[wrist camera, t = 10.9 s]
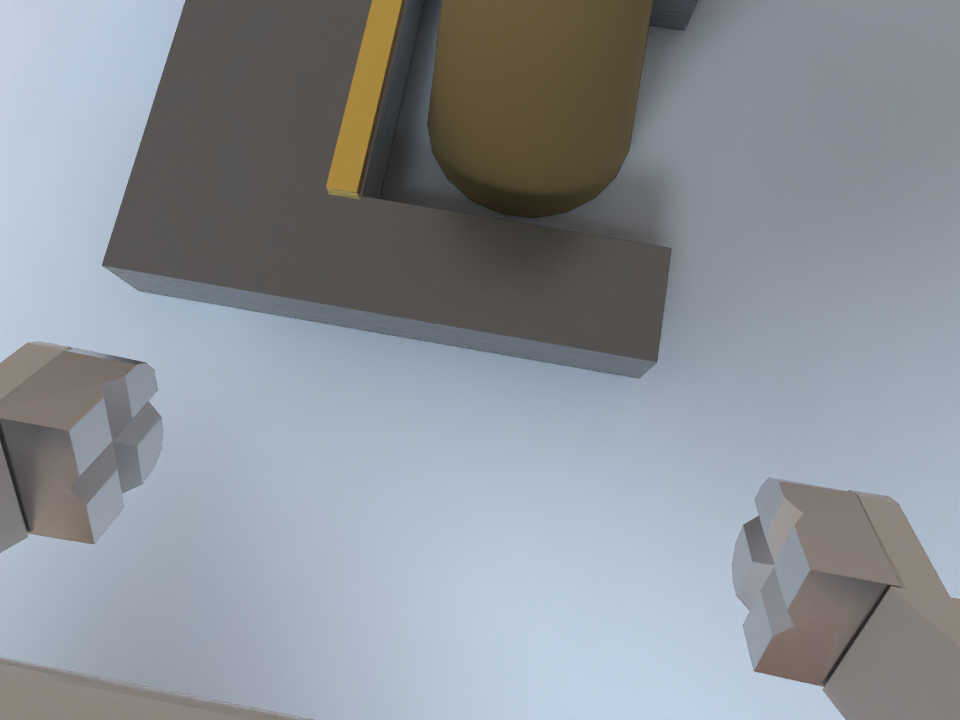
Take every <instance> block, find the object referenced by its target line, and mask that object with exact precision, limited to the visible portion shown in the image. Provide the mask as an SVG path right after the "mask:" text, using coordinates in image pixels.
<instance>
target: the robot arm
mask: <svg viewBox="0 0 960 720" xmlns="http://www.w3.org/2000/svg"><path fill="white" fill-rule="evenodd" d="M157 391H158V387H157V382H156V376H155V370H154V369H153V368H152V367H151V366H150V365H148V364H147V363H146V362H141V361H136V360H131V359H126V358H121V357H116V356H112V355H107V354H102V353H97V352H92V351H87V350H82V349H78V348H75V349H73V348H70V347H66V346H61V345H56V344H51V343H45V342H32V343H27V344H25V345H24V346H23V347H21V348H20V349H19V350H17V351H16V352H14V353H13V354H12V355H10V356H9V357H8V358H6V359H5V360H4V361H2V362H1V363H0V553H1V552H3V551H4V550H6V549H8V548H10V547H11V546H13V545H15V544H17V543H18V542H20V541H22V540H24V539H26V538H27V537H28V534H34V535H40V536H46V537H52V538H59V539H65V540H71V541H77V542H83V543H89V544H95V543H96V542H97V541H98V539H99V538H100V537H101V536H102V534H103V533H104V532H105V531H106V529H107V528H108V527H109V526H110V524H111V523H112V522H113V521H114V519H115V518H116V517H117V516H118V514H119V513H120V512H121V511H122V509H123V508H124V504H123V498H122V493H124V492H126V491H128V490H130V489H132V488H135V487H137V486H139V485H141V484H143V482H144V481H145V480H146V478H147V477H148V476H149V474H150V473H151V472H152V470H153V469H154V467H155V464H156V462H157V459H158V457H159V454H160V451H161V449H162V440H163V425H162V417H161V416H160V415H159V413H158V412H157V411H156V410H155V408H154V407H153V406H152V405H151V404H150V402H149V400H150V399H151V398H152V397H153V396H154V394H155V393H156V392H157ZM755 504H756V507H757V511H758V514H759V516H758V517H756V518H754V519H752V520H751V521H749V522H747V523H746V524H744V525H743V526H742V529H741V531H740V533H739V536H738V538H737V541H736V543H735V548H734V555H733V561H732V575H733V584H734V588H735V593H736V596H737V598H738V599H739V600H740V601H741V602H742V603H743V604H744V605H745V606H746V607H747V608H748V609H749V611H750V612H749V614H748V616H747V618H746V620H745V622H744V624H743V628H744V633H745V637H746V641H747V645H748V649H749V654H750V658H751V662H752V666H753V671H755V672H759V673H764V674H768V675H773V676H777V677H782V678H786V679H791V680H795V681H800V682H805V683H809V684H814V685H818V686H823V687H824V688H823V691H824V692H825V694H826V695H827V696H828V698H829V699H830V700H831V701H832V703H833V704H834V705H835V707H836V708H837V709H838V710H839V712H840V713H841V714H842V716H843V717H844V718H845V719H846V720H960V599H955V598H950V596H949V594H948V593H947V591H946V589H945V587H944V585H943V584H942V582H941V580H940V578H939V576H938V574H937V573H936V571H935V569H934V567H933V565H932V564H931V562H930V560H929V558H928V556H927V555H926V553H925V551H924V549H923V547H922V545H921V544H920V542H919V540H918V538H917V536H916V535H915V533H914V531H913V529H912V527H911V526H910V524H909V522H908V520H907V518H906V517H905V515H904V513H903V511H902V509H901V507H900V506H899V504H898V503H897V502H896V501H894V500H893V499H892V498H891V497H889V496H883V495H876V494H870V493H863V492H857V491H851V490H849V491H843V490H837V489H831V488H826V487H820V486H815V485H809V484H804V483H798V482H792V481H787V480H781V479H776V478H770V477H769V478H768V479H767V480H766V481H765V482H764V483H763V484H762V486H761V488H760V490H759V492H758V494H757V496H756V498H755ZM27 533H28V534H27ZM0 720H312V719H307V718H302V717H297V716H292V715H287V714H282V713H277V712H272V711H267V710H262V709H257V708H252V707H247V706H242V705H237V704H232V703H227V702H222V701H217V700H212V699H207V698H202V697H197V696H192V695H187V694H182V693H177V692H171V691H166V690H161V689H156V688H151V687H146V686H141V685H136V684H131V683H126V682H121V681H116V680H111V679H106V678H101V677H96V676H91V675H86V674H81V673H76V672H71V671H66V670H61V669H56V668H51V667H46V666H41V665H36V664H31V663H26V662H21V661H16V660H11V659H6V658H1V657H0Z"/></svg>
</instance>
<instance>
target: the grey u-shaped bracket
mask: <svg viewBox="0 0 960 720" xmlns="http://www.w3.org/2000/svg"><path fill="white" fill-rule="evenodd" d="M424 2H425V0H186V1H185V4H184V7H183V10H182V13H181V17H180V20H179V23H178V26H177V29H176V32H175V36H174V39H173V42H172V45H171V48H170V51H169V55H168V58H167V61H166V64H165V67H164V70H163V74H162V77H161V80H160V83H159V86H158V89H157V93H156V96H155V99H154V102H153V105H152V108H151V112H150V115H149V118H148V121H147V124H146V127H145V131H144V134H143V137H142V140H141V143H140V146H139V149H138V153H137V156H136V159H135V162H134V165H133V168H132V172H131V175H130V178H129V181H128V184H127V187H126V191H125V194H124V197H123V200H122V203H121V206H120V210H119V213H118V216H117V219H116V222H115V225H114V229H113V232H112V235H111V238H110V241H109V244H108V248H107V251H106V254H105V257H104V260H103V263H102V266H103V267H105V268H106V269H108V270H109V271H111V272H112V273H114V274H115V275H116V276H118V277H119V278H121V279H122V280H124V281H125V282H127V283H128V284H130V285H131V286H132V287H134V288H135V289H137V290H138V291H142V292H148V293H154V294H159V295H165V296H171V297H177V298H182V299H188V300H194V301H199V302H205V303H211V304H216V305H222V306H228V307H234V308H239V309H245V310H251V311H256V312H262V313H268V314H274V315H279V316H285V317H291V318H296V319H302V320H308V321H314V322H319V323H325V324H331V325H336V326H342V327H348V328H354V329H359V330H365V331H371V332H376V333H382V334H388V335H394V336H399V337H405V338H411V339H416V340H422V341H428V342H433V343H439V344H445V345H451V346H456V347H462V348H468V349H473V350H479V351H485V352H491V353H496V354H502V355H508V356H513V357H519V358H525V359H531V360H536V361H542V362H548V363H553V364H559V365H565V366H571V367H576V368H582V369H588V370H593V371H599V372H605V373H611V374H616V375H622V376H628V377H633V378H640V377H641V376H642V375H643V374H644V373H646V372H647V371H648V370H649V369H650V368H651V367H652V366H653V365H655V364H656V363H657V359H658V352H659V344H660V336H661V328H662V320H663V312H664V304H665V296H666V288H667V280H668V272H669V265H670V257H671V249H672V248H667V247H661V246H655V245H649V244H644V243H638V242H632V241H626V240H620V239H614V238H608V237H602V236H596V235H590V234H584V233H578V232H572V231H566V230H560V229H554V228H548V227H542V226H537V225H531V224H525V223H519V222H513V221H507V220H501V219H495V218H489V217H483V216H477V215H471V214H465V213H459V212H453V211H447V210H441V209H436V208H430V207H424V206H418V205H412V204H406V203H400V202H394V201H388V200H382V199H380V195H381V190H382V186H383V181H384V177H385V173H386V168H387V164H388V160H389V155H390V151H391V146H392V142H393V138H394V133H395V129H396V124H397V120H398V116H399V111H400V107H401V103H402V98H403V94H404V89H405V85H406V81H407V76H408V72H409V68H410V63H411V59H412V54H413V50H414V46H415V41H416V37H417V33H418V28H419V24H420V19H421V15H422V11H423V6H424ZM696 3H697V0H653V3H652V10H651V16H650V22H649V25H653V26H660V27H666V28H673V29H679V30H685V29H686V26H687V24H688V22H689V19H690V17H691V14H692V12H693V10H694V7H695V5H696Z"/></svg>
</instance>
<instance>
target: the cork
mask: <svg viewBox="0 0 960 720" xmlns="http://www.w3.org/2000/svg"><path fill="white" fill-rule="evenodd" d="M652 3H653V0H442V3H441V12H440V21H439V29H438V38H437V46H436V55H435V63H434V72H433V80H432V89H431V97H430V106H429V114H428V123H427V125H428V130H429V136H430V141H431V147H432V152H433V154H434V156H435V158H436V160H437V161H438V163H439V165H440V167H441V168H442V170H443V172H444V174H445V176H446V177H447V179H448V180H449V181H450V182H451V183H452V184H454V185H455V186H456V187H457V188H458V189H459V190H460V191H461V192H462V193H464V194H465V195H466V196H467V197H468V198H469V199H470V200H472V201H474V202H476V203H478V204H481V205H483V206H485V207H487V208H489V209H492V210H494V211H496V212H498V213H501V214H507V215H515V216H523V217H530V218H536V217H542V216H548V215H555V214H561V213H566V212H568V211H570V210H572V209H574V208H576V207H578V206H580V205H582V204H584V203H586V202H588V201H590V200H592V199H594V198H595V197H596V196H597V195H598V194H599V193H600V192H601V191H602V190H603V189H604V188H605V187H606V186H607V185H608V184H609V183H610V182H611V181H612V180H613V179H614V178H615V177H616V176H617V174H618V172H619V170H620V168H621V166H622V164H623V162H624V160H625V158H626V155H627V153H628V151H629V148H630V141H631V135H632V129H633V123H634V116H635V110H636V104H637V97H638V91H639V85H640V79H641V72H642V66H643V60H644V54H645V47H646V41H647V35H648V28H649V22H650V16H651V10H652Z"/></svg>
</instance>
